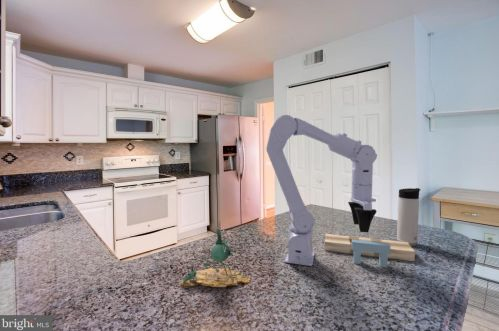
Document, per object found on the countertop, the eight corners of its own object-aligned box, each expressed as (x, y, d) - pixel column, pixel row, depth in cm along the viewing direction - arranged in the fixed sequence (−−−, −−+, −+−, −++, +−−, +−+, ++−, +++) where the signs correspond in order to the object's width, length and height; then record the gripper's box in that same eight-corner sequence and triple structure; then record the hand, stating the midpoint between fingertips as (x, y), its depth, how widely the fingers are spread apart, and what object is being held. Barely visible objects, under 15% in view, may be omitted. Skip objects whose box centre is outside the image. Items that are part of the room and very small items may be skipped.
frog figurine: (186, 271, 70) (191, 219, 69) (250, 279, 69) (256, 226, 69) (175, 290, 60) (181, 230, 59) (250, 299, 60) (257, 238, 59)
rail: (414, 261, 76) (414, 251, 76) (324, 250, 84) (324, 241, 84) (407, 251, 83) (407, 242, 83) (325, 242, 92) (325, 233, 91)
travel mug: (421, 247, 87) (424, 189, 85) (400, 245, 88) (402, 189, 87) (413, 240, 93) (415, 187, 91) (394, 239, 94) (396, 186, 93)
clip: (389, 268, 72) (390, 246, 71) (351, 263, 75) (352, 242, 74) (387, 264, 74) (388, 243, 73) (351, 259, 77) (351, 239, 77)
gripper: (384, 188, 69) (382, 236, 70) (368, 181, 83) (367, 221, 84) (356, 187, 70) (355, 235, 71) (346, 181, 84) (345, 220, 85)
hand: (360, 227), depth 77 cm, fingers open, 7 cm apart
